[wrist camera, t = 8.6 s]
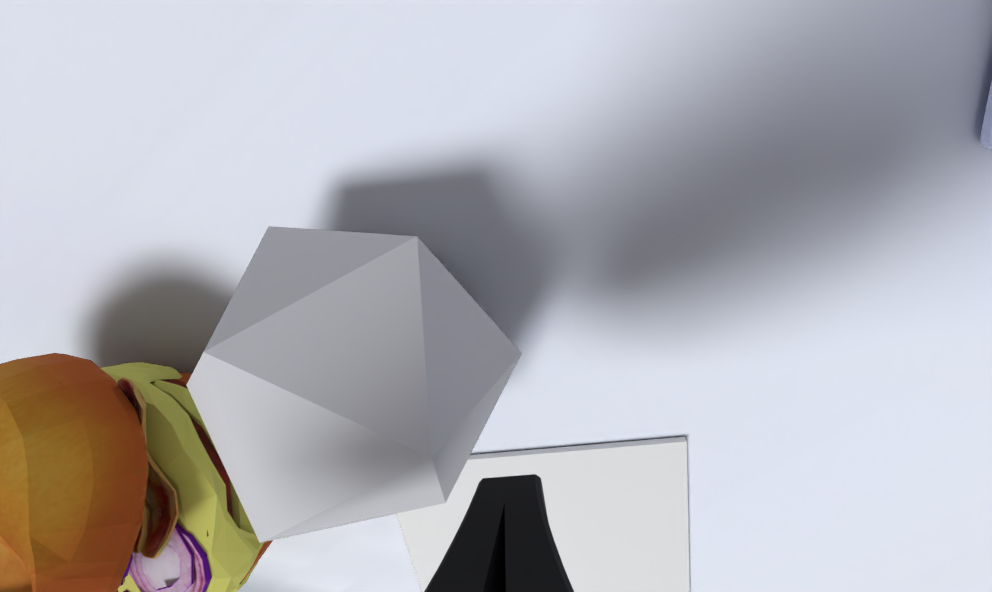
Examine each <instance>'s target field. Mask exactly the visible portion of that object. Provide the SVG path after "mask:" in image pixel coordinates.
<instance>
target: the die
mask: <svg viewBox="0 0 992 592" xmlns="http://www.w3.org/2000/svg"><path fill="white" fill-rule="evenodd" d="M520 355H521V352H520V351H519V349H518V348H517V347H516V346H515V345H514V344H513V343H512V342H511V341H510V339H509V338H508V337H507V336H506V335H505V334H504V333H503V332H502V330H501V329H500V328H499V327H498V326H497V325H496V324H495V323H494V322H493V320H492V319H491V318H490V317H489V316H488V315H487V314H486V313H485V311H484V310H483V309H482V308H481V307H480V306H479V305H478V304H477V302H476V301H475V300H474V299H473V298H472V297H471V296H470V295H469V294H468V292H467V291H466V290H465V289H464V288H463V287H462V286H461V285H460V283H459V282H458V281H457V280H456V279H455V278H454V277H453V276H452V275H451V273H450V272H449V271H448V270H447V269H446V268H445V267H444V266H443V264H442V263H441V262H440V261H439V260H438V259H437V258H436V257H435V256H434V254H433V253H432V252H431V251H430V250H429V249H428V248H427V247H426V245H425V244H424V243H423V242H422V241H421V240H420V239H419V238H418V237H417V236H407V235H392V234H376V233H361V232H346V231H330V230H315V229H300V228H285V227H268V229H267V231H266V233H265V235H264V237H263V238H262V240H261V242H260V244H259V246H258V248H257V250H256V252H255V254H254V256H253V258H252V260H251V262H250V263H249V265H248V267H247V269H246V271H245V273H244V275H243V277H242V279H241V281H240V283H239V285H238V286H237V288H236V290H235V292H234V294H233V296H232V298H231V300H230V302H229V304H228V306H227V308H226V310H225V311H224V313H223V315H222V317H221V319H220V321H219V323H218V325H217V327H216V329H215V331H214V333H213V335H212V336H211V338H210V340H209V342H208V344H207V346H206V348H205V350H204V352H203V354H202V356H201V358H200V360H199V362H198V364H197V365H196V367H195V369H194V371H193V373H192V375H191V377H190V379H189V381H188V383H187V385H186V386H187V388H188V390H189V392H190V394H191V396H192V399H193V401H194V403H195V405H196V407H197V409H198V411H199V414H200V416H201V418H202V420H203V422H204V424H205V426H206V429H207V431H208V433H209V435H210V437H211V439H212V441H213V444H214V446H215V448H216V450H217V452H218V454H219V456H220V459H221V461H222V463H223V465H224V467H225V469H226V471H227V474H228V476H229V478H230V480H231V482H232V484H233V487H234V489H235V491H236V493H237V495H238V497H239V499H240V502H241V504H242V506H243V508H244V510H245V512H246V514H247V517H248V519H249V521H250V523H251V525H252V527H253V529H254V532H255V534H256V536H257V538H258V540H259V542H260V543H261V542H266V541H271V540H275V539H280V538H285V537H289V536H294V535H299V534H303V533H308V532H313V531H317V530H322V529H327V528H331V527H336V526H341V525H345V524H350V523H355V522H359V521H364V520H369V519H373V518H378V517H383V516H387V515H392V514H397V513H401V512H406V511H411V510H415V509H420V508H425V507H429V506H434V505H439V504H443V503H446V501H447V499H448V497H449V495H450V493H451V491H452V489H453V487H454V485H455V484H456V482H457V480H458V478H459V476H460V474H461V472H462V470H463V468H464V466H465V464H466V462H467V460H468V458H469V456H470V454H471V452H472V450H473V448H474V446H475V444H476V442H477V440H478V438H479V436H480V434H481V432H482V430H483V428H484V426H485V424H486V422H487V420H488V418H489V417H490V415H491V413H492V411H493V409H494V407H495V405H496V403H497V401H498V399H499V397H500V395H501V393H502V391H503V389H504V387H505V385H506V383H507V381H508V379H509V377H510V375H511V373H512V371H513V369H514V367H515V365H516V363H517V361H518V359H519V357H520Z"/></svg>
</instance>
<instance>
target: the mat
mask: <svg viewBox="0 0 992 592" xmlns="http://www.w3.org/2000/svg"><path fill="white" fill-rule="evenodd" d="M531 474H536V475H537V476H539V477H540V478H541V481H542V487H543V493H544V499H545V505H546V511H547V517H548V522H549V526H550V529H551V532H552V535H553V538H554V541H555V544H556V547H557V549H558V552H559V555H560V558H561V561H562V563H563V566H564V568H565V571H566V573H567V576H568V578H569V581H570V583H571V585H572V588H573V590H574V592H690V580H689V531H688V481H687V441H686V439H685V437H674V438H663V439H651V440H639V441H628V442H616V443H604V444H593V445H581V446H569V447H557V448H546V449H534V450H522V451H511V452H499V453H487V454H476V455H470V456H469V458H468V460H467V462H466V464H465V466H464V468H463V470H462V472H461V474H460V476H459V478H458V480H457V482H456V484H455V485H454V487H453V489H452V491H451V493H450V495H449V497H448V499H447V501H446V503H443V504H439V505H434V506H429V507H425V508H420V509H415V510H411V511H406V512H401V513H397V514H396V516H397V519H398V522H399V525H400V528H401V531H402V534H403V537H404V540H405V543H406V546H407V550H408V553H409V556H410V559H411V562H412V565H413V568H414V571H415V574H416V577H417V580H418V583H419V586H420V590H421V592H424V591H425V589H426V588H427V586H428V584H429V583H430V581H431V579H432V577H433V576H434V574H435V572H436V571H437V569H438V567H439V565H440V563H441V562H442V560H443V558H444V556H445V554H446V552H447V550H448V548H449V546H450V544H451V543H452V541H453V539H454V537H455V535H456V533H457V531H458V529H459V527H460V525H461V523H462V521H463V518H464V516H465V514H466V512H467V510H468V508H469V505H470V503H471V501H472V498H473V496H474V494H475V491H476V489H477V486H478V484H479V482H480V481H481V480H482V479H483V478H493V477H506V476H519V475H531Z"/></svg>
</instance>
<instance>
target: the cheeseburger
mask: <svg viewBox="0 0 992 592" xmlns="http://www.w3.org/2000/svg"><path fill="white" fill-rule="evenodd" d="M191 375H192V374H190V373H188V372H187V373H179V372H178V371H177V370H176V369H174V368H172V367H167V366H161V365H155V364H149V363H143V362H136V363H124V364H119V365H114V366H109V367H98V366H97V365H96V364H95V363H93V362H92V361H91V360H87V359H83V358H79V357H74V356H70V355H66V354H58V353H53V354H47V355H41V356H34V357H28V358H22V359H16V360H13V361H9V362H6V363H2V364H0V592H237V591H238V590H239V589H240V588H241V587H242V586H243V585H244V584H245V583H246V582H247V580H248V578H249V576H250V574H251V572H252V571H253V569H254V568H255V566H256V565H257V563H258V560H259V559H260V558H261V556H262V555H263V553H264V552H265V551H266V549H267V548H268V547H269V545H270V544H271V542H272V541H273V540H271V541H266V542H261V543H260V542H259V540H258V538H257V536H256V534H255V532H254V529H253V527H252V525H251V523H250V521H249V519H248V517H247V514H246V512H245V510H244V508H243V506H242V504H241V502H240V499H239V497H238V495H237V493H236V491H235V489H234V487H233V484H232V482H231V480H230V478H229V476H228V474H227V471H226V469H225V467H224V465H223V463H222V461H221V459H220V456H219V454H218V452H217V450H216V448H215V446H214V444H213V441H212V439H211V437H210V435H209V433H208V431H207V429H206V426H205V424H204V422H203V420H202V418H201V416H200V414H199V411H198V409H197V407H196V405H195V403H194V401H193V399H192V396H191V394H190V392H189V390H188V388H187V386H186V385H187V383H188V381H189V379H190V377H191Z"/></svg>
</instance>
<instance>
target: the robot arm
mask: <svg viewBox="0 0 992 592" xmlns="http://www.w3.org/2000/svg"><path fill="white" fill-rule="evenodd" d="M981 143H982V145H983V147H985V148H987V149H989V150H992V81H991V86H990V91H989V96H988V101H987V106H986V111H985V116H984V121H983V125H982V130H981ZM424 592H574V590H573V588H572V585H571V583H570V581H569V578H568V576H567V573H566V571H565V568H564V566H563V563H562V561H561V558H560V555H559V552H558V549H557V547H556V544H555V541H554V538H553V535H552V532H551V529H550V526H549V522H548V517H547V511H546V505H545V499H544V493H543V487H542V481H541V478H540V477H539V476H537V475H536V474H531V475H519V476H506V477H493V478H483V479H482V480H481V481H480V482H479V484H478V486H477V489H476V491H475V494H474V496H473V498H472V501H471V503H470V505H469V508H468V510H467V512H466V514H465V516H464V518H463V521H462V523H461V525H460V527H459V529H458V531H457V533H456V535H455V537H454V539H453V541H452V543H451V544H450V546H449V548H448V550H447V552H446V554H445V556H444V558H443V560H442V562H441V563H440V565H439V567H438V569H437V571H436V572H435V574H434V576H433V577H432V579H431V581H430V583H429V584H428V586H427V588H426V589H425V591H424Z"/></svg>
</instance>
